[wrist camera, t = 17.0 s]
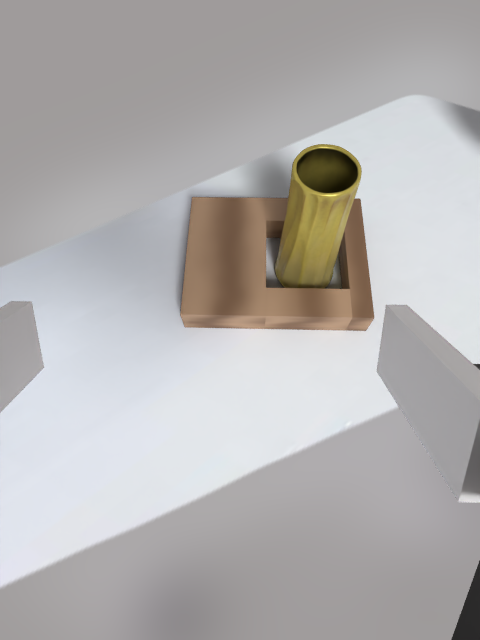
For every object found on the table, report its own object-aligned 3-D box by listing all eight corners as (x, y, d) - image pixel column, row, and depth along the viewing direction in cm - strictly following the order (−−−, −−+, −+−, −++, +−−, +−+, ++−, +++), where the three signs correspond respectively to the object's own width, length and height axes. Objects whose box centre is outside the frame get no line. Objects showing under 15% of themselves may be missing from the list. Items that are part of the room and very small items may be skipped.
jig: (184, 327, 41) (180, 314, 38) (195, 215, 47) (192, 197, 44) (365, 330, 41) (374, 317, 38) (353, 216, 46) (360, 198, 44)
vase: (297, 237, 46) (316, 128, 33) (343, 266, 44) (383, 163, 31) (263, 274, 44) (269, 173, 31) (310, 306, 42) (338, 214, 29)
